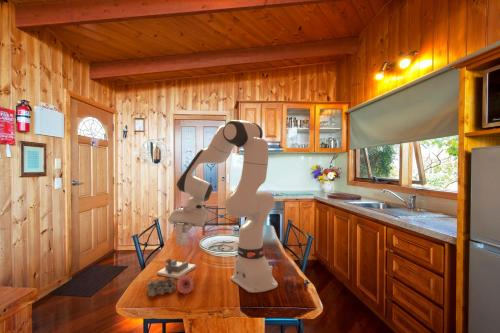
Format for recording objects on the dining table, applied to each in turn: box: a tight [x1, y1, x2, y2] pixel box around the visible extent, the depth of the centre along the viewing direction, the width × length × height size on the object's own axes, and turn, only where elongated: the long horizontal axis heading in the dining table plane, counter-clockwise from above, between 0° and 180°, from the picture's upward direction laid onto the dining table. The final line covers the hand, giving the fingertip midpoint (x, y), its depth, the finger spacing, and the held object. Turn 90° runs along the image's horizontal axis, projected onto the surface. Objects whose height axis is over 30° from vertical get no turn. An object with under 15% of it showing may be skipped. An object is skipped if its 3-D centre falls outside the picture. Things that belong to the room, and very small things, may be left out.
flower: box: [175, 273, 195, 295], centre depth 107 cm, size 8×8×6 cm
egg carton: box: [146, 277, 176, 297], centre depth 107 cm, size 11×8×4 cm
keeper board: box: [156, 258, 197, 279], centre depth 126 cm, size 15×12×8 cm
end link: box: [175, 222, 188, 246], centre depth 130 cm, size 4×4×10 cm
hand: (180, 231), depth 130 cm, fingers closed on end link, 4 cm apart
